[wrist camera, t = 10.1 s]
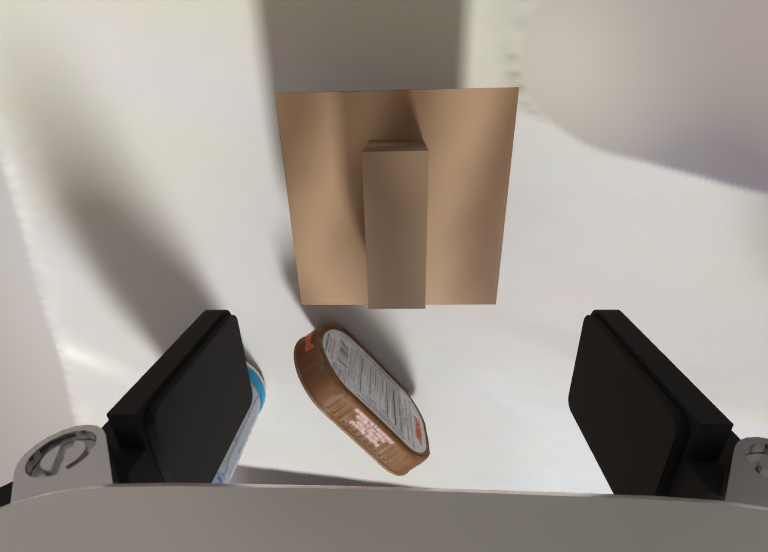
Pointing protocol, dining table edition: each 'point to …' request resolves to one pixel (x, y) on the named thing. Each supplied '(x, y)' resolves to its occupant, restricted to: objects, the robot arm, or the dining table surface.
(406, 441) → the tin
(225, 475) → the beverage bottle
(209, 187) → the dining table surface
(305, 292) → the lid
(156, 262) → the dining table surface
